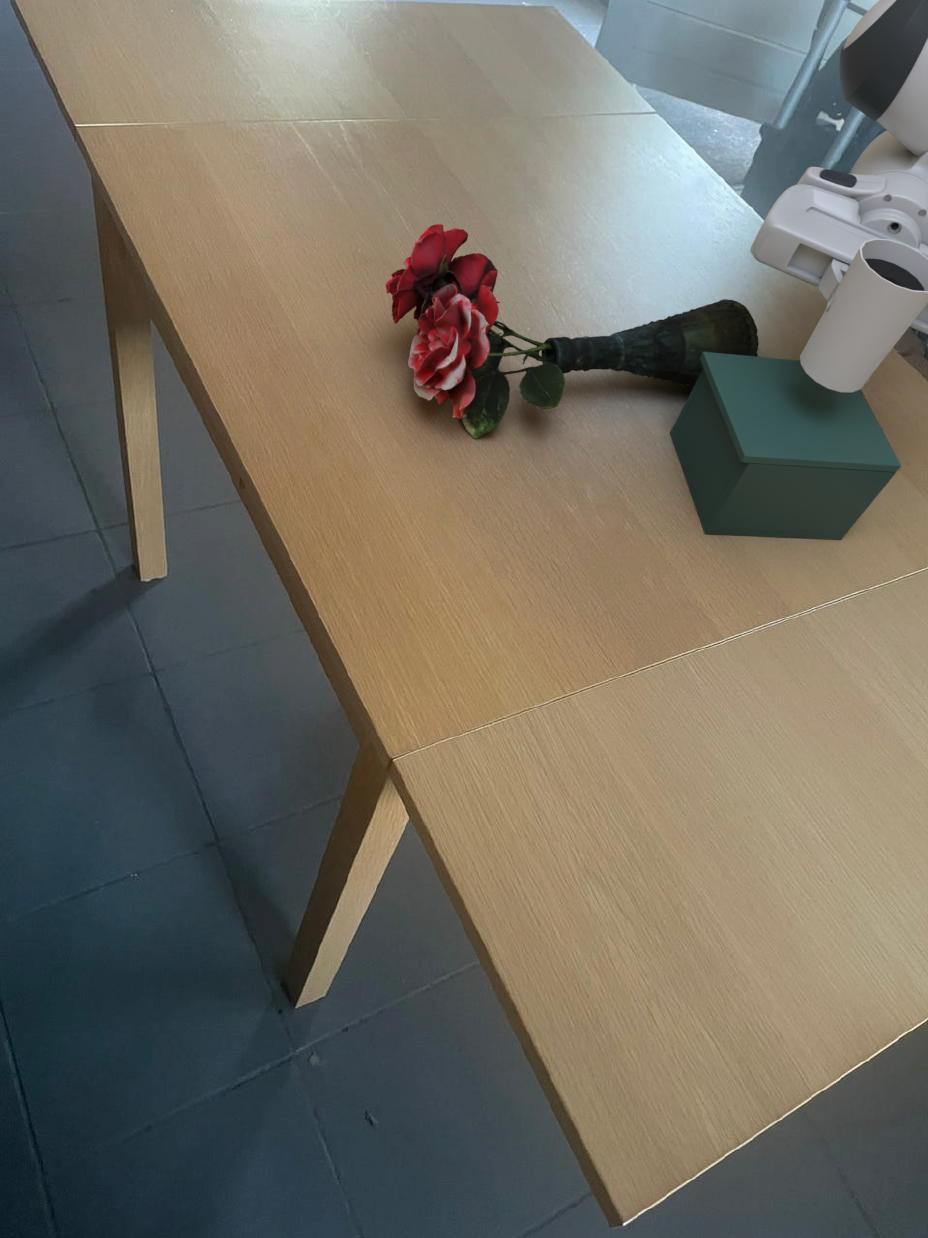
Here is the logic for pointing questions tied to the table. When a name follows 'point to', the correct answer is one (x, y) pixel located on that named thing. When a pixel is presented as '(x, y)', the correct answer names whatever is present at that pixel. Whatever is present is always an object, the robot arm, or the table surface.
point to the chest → (763, 482)
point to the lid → (794, 416)
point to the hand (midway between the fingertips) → (861, 316)
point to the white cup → (867, 314)
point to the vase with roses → (463, 347)
